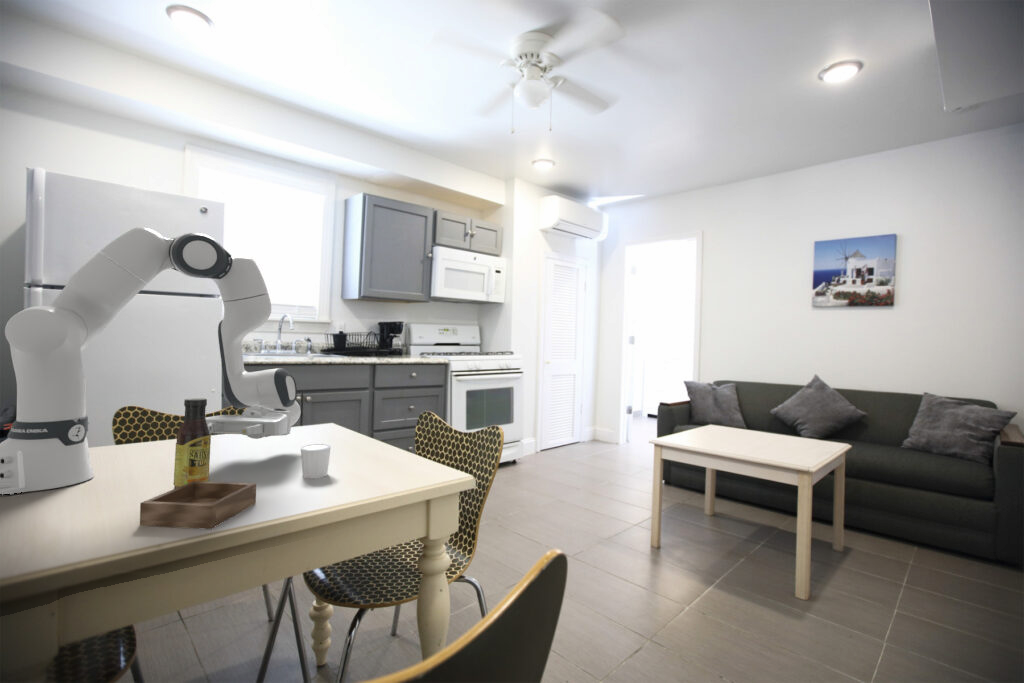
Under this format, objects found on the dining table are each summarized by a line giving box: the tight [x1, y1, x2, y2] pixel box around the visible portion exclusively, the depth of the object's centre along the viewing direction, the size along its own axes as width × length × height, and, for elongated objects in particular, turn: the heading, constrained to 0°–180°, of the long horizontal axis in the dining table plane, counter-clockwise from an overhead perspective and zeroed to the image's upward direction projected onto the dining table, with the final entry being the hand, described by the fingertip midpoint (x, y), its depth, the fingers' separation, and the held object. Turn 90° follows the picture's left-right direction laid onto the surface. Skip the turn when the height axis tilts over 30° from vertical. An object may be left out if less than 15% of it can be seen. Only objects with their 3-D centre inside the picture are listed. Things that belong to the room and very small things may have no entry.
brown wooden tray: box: [139, 481, 257, 530], centre depth 88 cm, size 13×13×4 cm
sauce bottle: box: [172, 397, 212, 489], centre depth 101 cm, size 7×6×20 cm
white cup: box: [300, 443, 331, 479], centre depth 115 cm, size 7×7×7 cm
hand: (225, 430), depth 112 cm, fingers open, 8 cm apart
